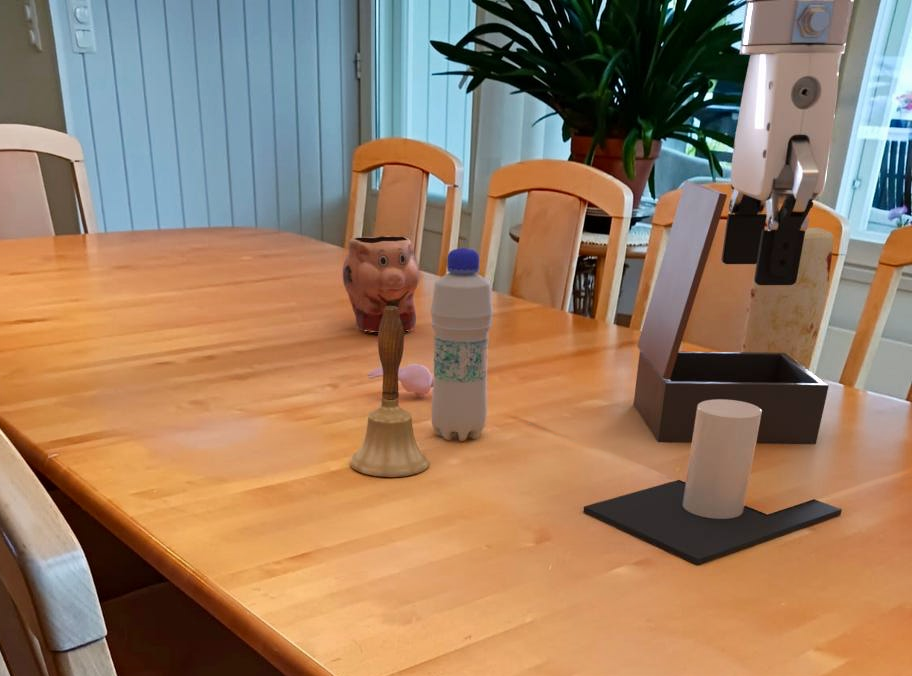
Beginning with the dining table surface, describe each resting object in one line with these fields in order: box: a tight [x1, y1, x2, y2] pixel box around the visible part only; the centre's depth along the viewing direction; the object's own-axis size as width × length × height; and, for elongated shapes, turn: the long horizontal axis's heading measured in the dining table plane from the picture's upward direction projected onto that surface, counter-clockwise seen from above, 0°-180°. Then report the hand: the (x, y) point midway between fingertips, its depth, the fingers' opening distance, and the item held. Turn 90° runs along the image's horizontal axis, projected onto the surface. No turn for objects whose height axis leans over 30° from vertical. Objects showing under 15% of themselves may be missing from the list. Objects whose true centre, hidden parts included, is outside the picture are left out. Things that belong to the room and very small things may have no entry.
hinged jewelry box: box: [633, 350, 830, 445], centre depth 112 cm, size 18×15×7 cm
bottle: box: [430, 247, 494, 442], centre depth 106 cm, size 7×7×20 cm
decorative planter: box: [342, 235, 421, 332], centre depth 156 cm, size 20×12×14 cm, turn 22°
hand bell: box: [349, 306, 430, 478], centre depth 98 cm, size 8×8×16 cm
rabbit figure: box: [366, 363, 434, 398], centre depth 123 cm, size 6×6×15 cm
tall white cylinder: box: [682, 399, 762, 519], centre depth 89 cm, size 6×6×10 cm
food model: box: [740, 227, 834, 369], centre depth 126 cm, size 10×7×20 cm
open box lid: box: [636, 180, 728, 379], centre depth 106 cm, size 18×15×1 cm
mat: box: [583, 479, 843, 566], centre depth 91 cm, size 20×14×1 cm
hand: (756, 273), depth 81 cm, fingers open, 9 cm apart
